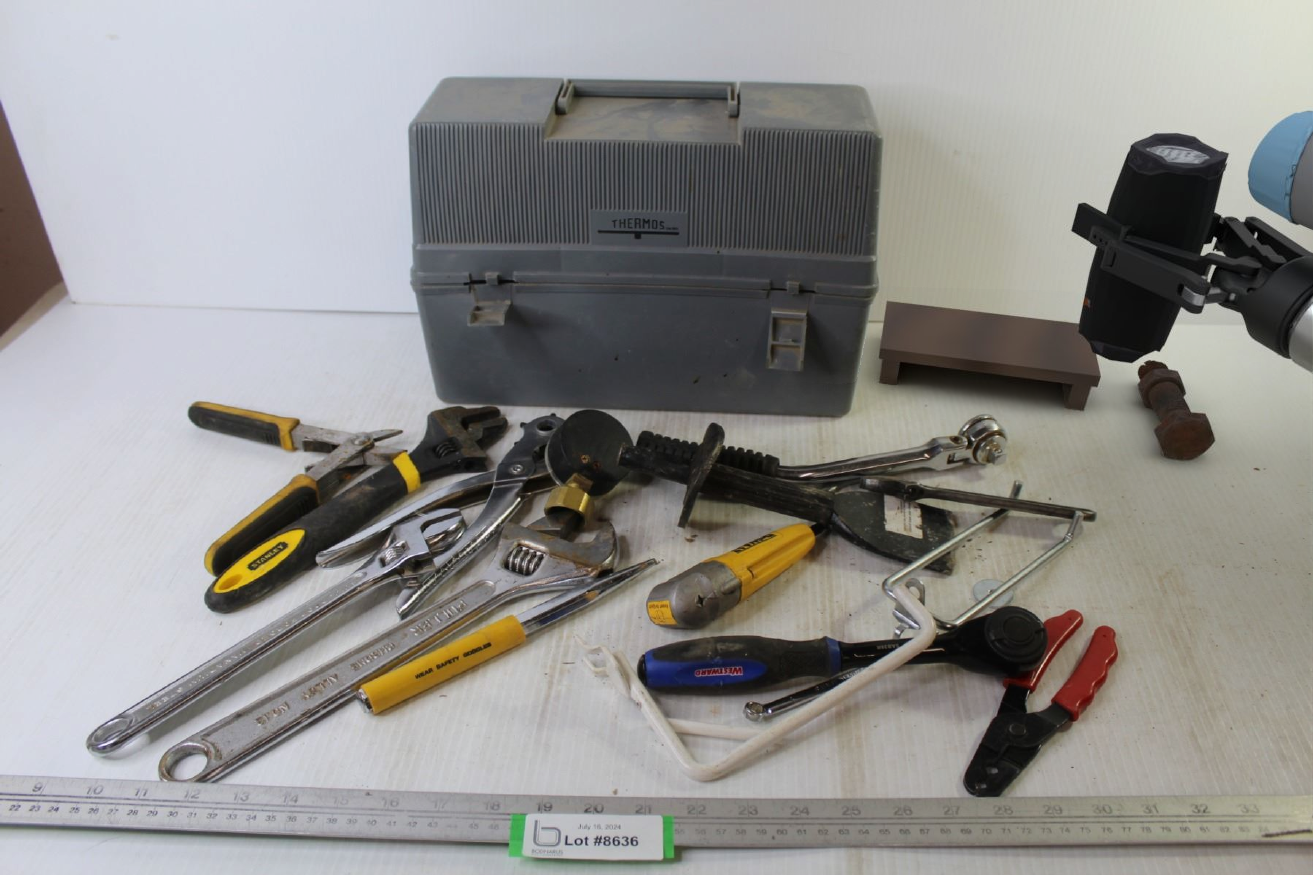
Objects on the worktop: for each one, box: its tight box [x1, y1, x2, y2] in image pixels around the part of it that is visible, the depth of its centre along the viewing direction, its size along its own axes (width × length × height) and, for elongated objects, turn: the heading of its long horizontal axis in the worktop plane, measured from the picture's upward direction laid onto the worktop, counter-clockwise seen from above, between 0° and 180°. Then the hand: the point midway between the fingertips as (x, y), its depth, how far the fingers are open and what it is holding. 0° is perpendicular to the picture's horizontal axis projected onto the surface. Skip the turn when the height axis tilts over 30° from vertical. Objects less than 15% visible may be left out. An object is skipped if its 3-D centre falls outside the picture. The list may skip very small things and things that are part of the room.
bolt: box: [1136, 359, 1216, 461], centre depth 107 cm, size 6×5×15 cm
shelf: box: [878, 300, 1102, 411], centre depth 115 cm, size 24×12×5 cm, turn 75°
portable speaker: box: [1078, 132, 1230, 364], centre depth 89 cm, size 9×9×20 cm
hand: (1120, 210), depth 91 cm, fingers closed on portable speaker, 9 cm apart
